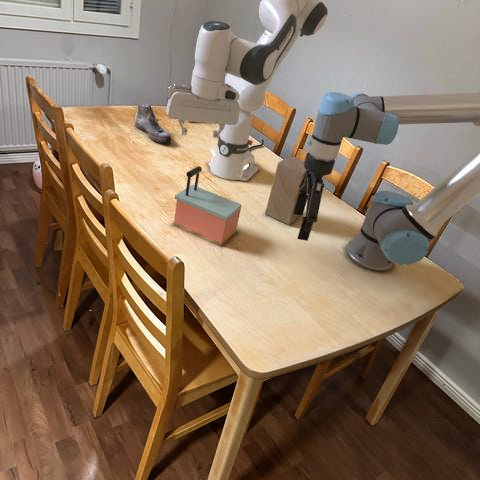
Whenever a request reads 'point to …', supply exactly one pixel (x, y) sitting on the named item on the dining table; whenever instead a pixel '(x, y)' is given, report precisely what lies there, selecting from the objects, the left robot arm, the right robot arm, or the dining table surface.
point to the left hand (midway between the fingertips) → (199, 136)
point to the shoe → (151, 124)
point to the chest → (205, 223)
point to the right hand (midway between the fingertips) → (300, 226)
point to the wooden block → (285, 190)
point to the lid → (206, 198)
